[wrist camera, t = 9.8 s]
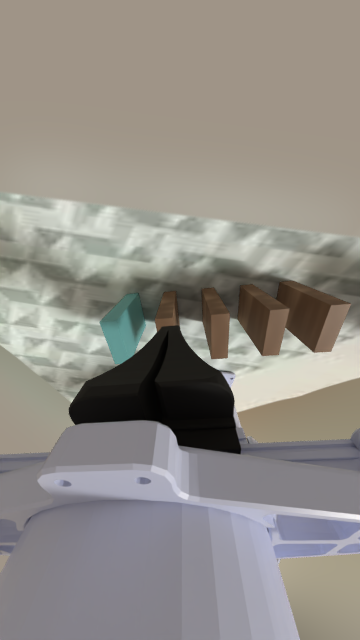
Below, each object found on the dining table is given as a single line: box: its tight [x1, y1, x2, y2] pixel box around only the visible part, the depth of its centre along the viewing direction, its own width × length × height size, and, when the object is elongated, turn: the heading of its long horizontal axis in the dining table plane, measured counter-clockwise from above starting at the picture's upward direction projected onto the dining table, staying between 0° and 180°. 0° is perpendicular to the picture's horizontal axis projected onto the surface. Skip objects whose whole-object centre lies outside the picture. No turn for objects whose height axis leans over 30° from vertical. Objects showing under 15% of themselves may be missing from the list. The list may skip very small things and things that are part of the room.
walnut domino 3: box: [238, 284, 289, 356], centre depth 18 cm, size 2×5×8 cm, turn 6°
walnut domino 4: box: [276, 281, 351, 353], centre depth 18 cm, size 2×5×8 cm, turn 6°
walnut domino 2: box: [202, 288, 230, 359], centre depth 19 cm, size 2×5×8 cm, turn 6°
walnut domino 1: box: [155, 291, 180, 332], centre depth 19 cm, size 2×5×8 cm, turn 5°
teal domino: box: [100, 293, 146, 364], centre depth 19 cm, size 2×5×8 cm, turn 6°
